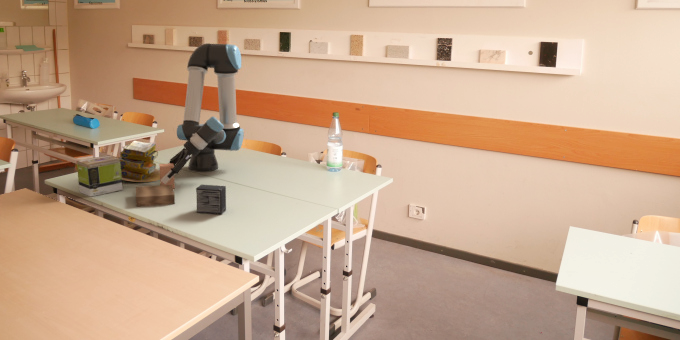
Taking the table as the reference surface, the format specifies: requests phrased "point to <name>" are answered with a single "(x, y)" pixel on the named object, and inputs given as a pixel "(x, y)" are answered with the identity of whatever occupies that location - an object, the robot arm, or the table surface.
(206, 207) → the small box
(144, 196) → the walnut plinth
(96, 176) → the tea box
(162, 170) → the terracotta block
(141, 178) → the stacked packets on plate
